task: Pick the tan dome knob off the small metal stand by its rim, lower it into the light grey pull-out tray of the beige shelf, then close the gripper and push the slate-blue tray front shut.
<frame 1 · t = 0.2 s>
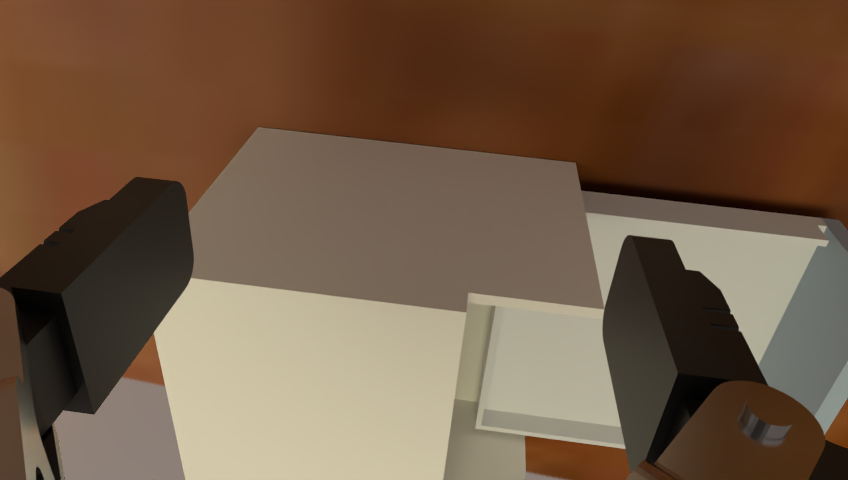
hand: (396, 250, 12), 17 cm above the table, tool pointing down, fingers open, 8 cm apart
tray: (643, 363, 30), point 4 cm above the table, slide at 11.0 cm
beige shelf: (405, 279, 34), on the table
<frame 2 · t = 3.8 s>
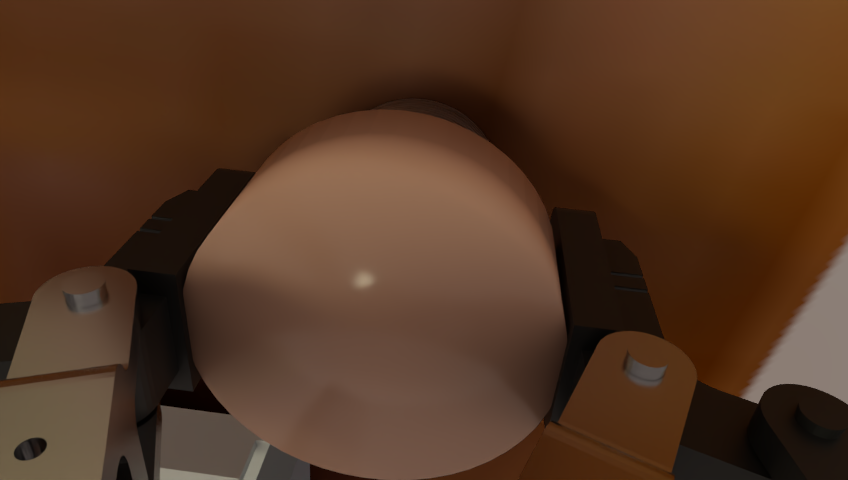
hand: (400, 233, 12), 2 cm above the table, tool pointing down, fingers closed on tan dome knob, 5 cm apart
tan dome knob: (394, 261, 11), point 3 cm above the table, touching gripper, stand
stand: (416, 176, 14), on the table
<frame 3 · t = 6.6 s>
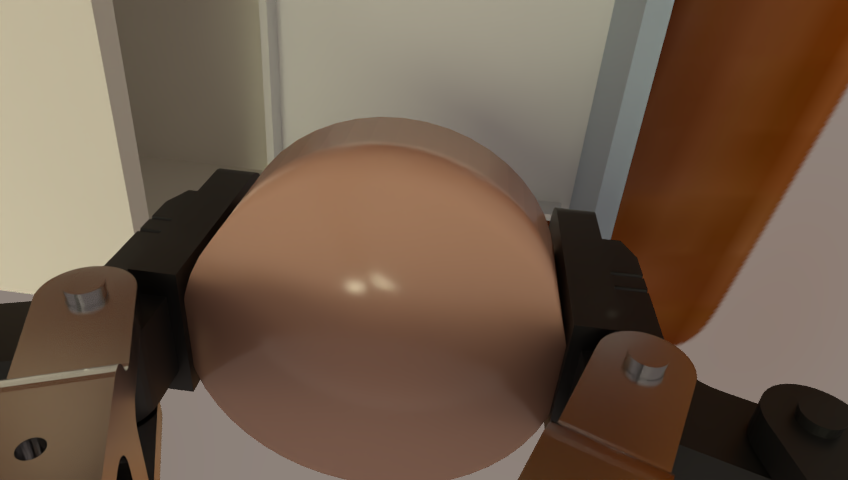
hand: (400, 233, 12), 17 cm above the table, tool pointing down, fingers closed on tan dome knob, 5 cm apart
tan dome knob: (394, 267, 11), point 19 cm above the table, touching gripper
tray: (439, 50, 24), point 4 cm above the table, slide at 11.0 cm
when the fingers open (3 cm above the table, at t = 9.7 s): tan dome knob drops 2 cm, resting on tray.
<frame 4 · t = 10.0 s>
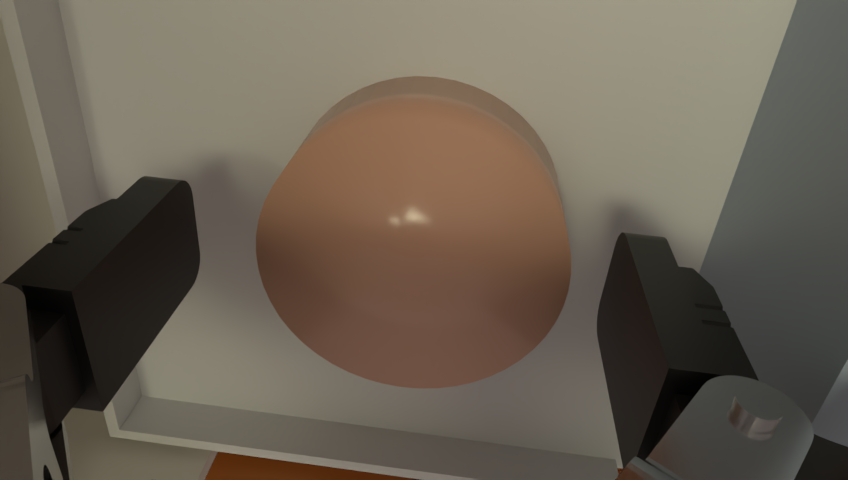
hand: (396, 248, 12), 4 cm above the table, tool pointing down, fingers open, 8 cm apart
tan dome knob: (424, 208, 13), point 2 cm above the table, touching tray
tray: (391, 259, 12), point 4 cm above the table, slide at 11.2 cm, touching tan dome knob, gripper
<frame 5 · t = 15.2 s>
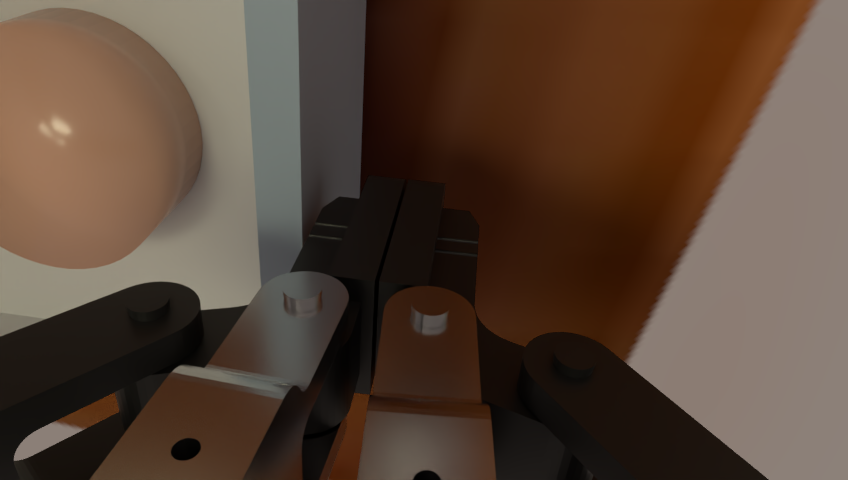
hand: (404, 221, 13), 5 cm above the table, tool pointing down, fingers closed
tan dome knob: (94, 123, 16), point 2 cm above the table, touching tray
tray: (24, 153, 14), point 4 cm above the table, slide at 11.2 cm, touching tan dome knob, gripper
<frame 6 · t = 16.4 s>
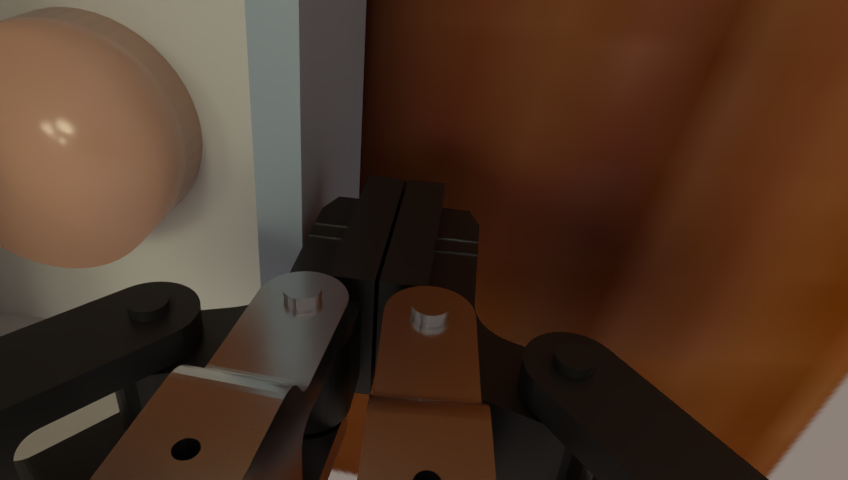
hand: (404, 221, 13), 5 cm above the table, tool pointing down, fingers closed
tan dome knob: (93, 123, 16), point 2 cm above the table, touching tray
tray: (24, 152, 14), point 4 cm above the table, slide at 4.5 cm, touching tan dome knob, gripper
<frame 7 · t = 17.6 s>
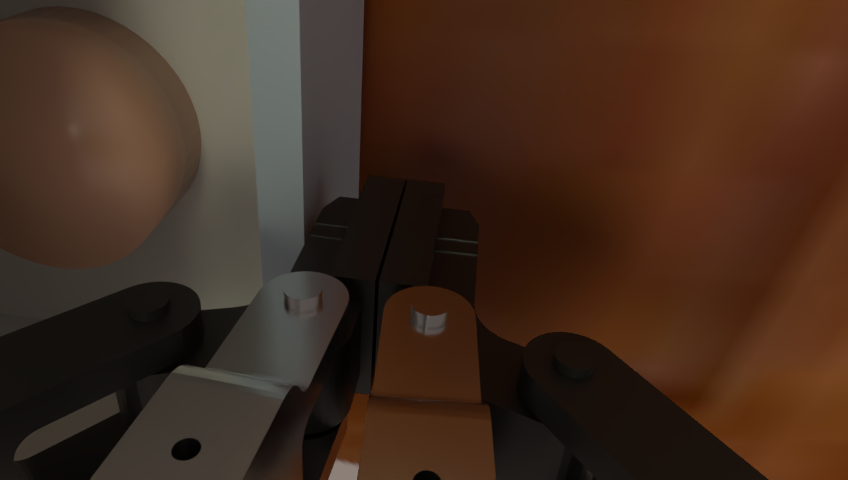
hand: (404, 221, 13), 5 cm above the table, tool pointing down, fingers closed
tan dome knob: (91, 122, 16), point 2 cm above the table, touching tray
tray: (22, 153, 14), point 4 cm above the table, slide at -0.1 cm, touching tan dome knob, gripper
beige shelf: (94, 91, 18), on the table
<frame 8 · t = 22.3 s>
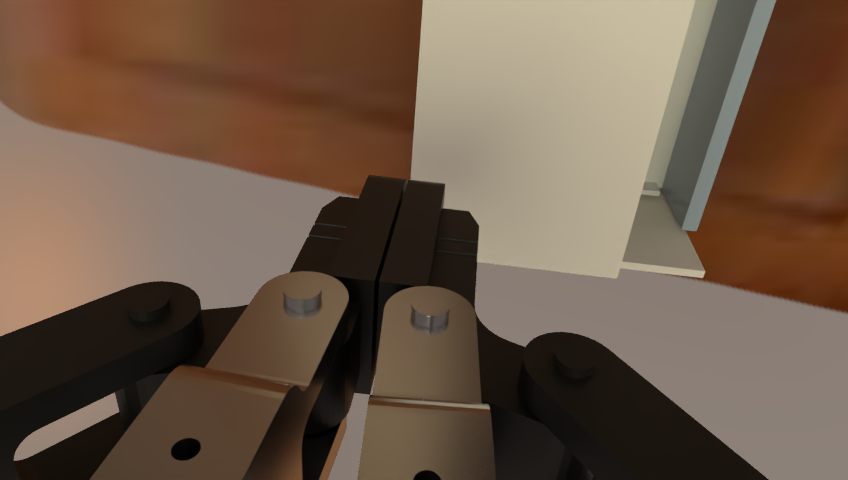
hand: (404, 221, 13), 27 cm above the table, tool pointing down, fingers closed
tray: (584, 71, 33), point 4 cm above the table, slide at 0.0 cm, touching tan dome knob
beige shelf: (565, 49, 37), on the table
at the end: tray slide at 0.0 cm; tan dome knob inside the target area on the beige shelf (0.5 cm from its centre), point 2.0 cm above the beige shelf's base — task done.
